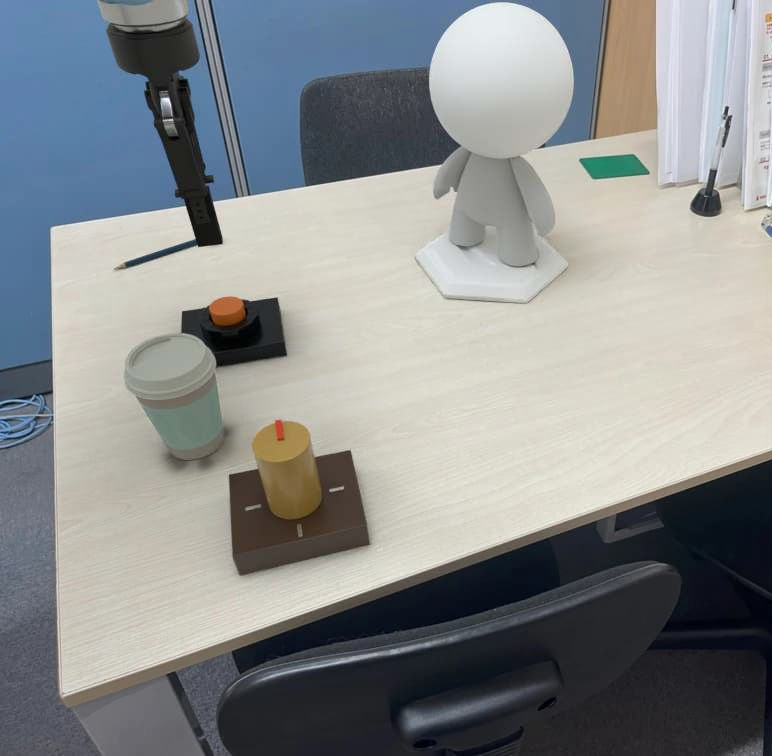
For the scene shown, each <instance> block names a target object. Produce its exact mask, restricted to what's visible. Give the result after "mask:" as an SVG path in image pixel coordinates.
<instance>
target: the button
mask: <svg viewBox="0 0 772 756" xmlns="http://www.w3.org/2000/svg"><path fill="white" fill-rule="evenodd" d="M241 299H242V298H240V297H237V296H232V295H231V296H230V295H229V296H223V297H219V298H217V299H214V300H213V301H212V302H211V303H210V304H209V305H210V306H209V305H208V306H209V311H210V314H211V317H212V321H213V322H214V323H215V324H216V325H220V326H227V325H234V324H236V323H238V322H240V321H242V320H244V319H245V317H246V312H245V308H244V305H243V301H242V300H241Z"/></svg>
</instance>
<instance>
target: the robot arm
mask: <svg viewBox="0 0 772 756" xmlns="http://www.w3.org/2000/svg"><path fill="white" fill-rule="evenodd" d="M96 2H97V5H98V8H99V11H100V14H101V17H102V19H103V20H104V21H106V22H107V23H109V24H108V25H107V28H106V30H105V32H106V36H107V38H108V42H109V45H110V48H111V51H112V54H113V58H114V59H115V64H116V65H117V66H118V68H119V69H120V70H122V71H123V72H124V73H128V74H130V75H141V76H143V77H145V78H147V80H146V81H145V82H144V84H145V88H146V89H144V90H143V93H144V99H145V102H146V106H147V108H148V109H149V110H150V111H151V113H152V115H153V127H154V128H155V129H156V132H157V134H158V137H159V139H160V140H161V144H162V147H163V149H164V153H165V156H166V158H167V161H168V164H169V167H170V170H171V173H172V175H173V178H174V182H175V184H176V187H177V189H176V188H175V189H174V197H175V198H176V199H177V198H180V199H181V200H183V202H184V205H185V208H186V212H187V215H188V218H189V222H190V225H191V228H192V232H193V236H194V239H196V242H197V245H196V246H197V248H203V247H212V246H218V245H223V244H224V239H223V235H222V234H223V233H222V230H221V227H220V226H221V225H220V223H219V218H218V215H217V212H216V208H215V204H214V201H213V196H212V193H211V188H210V185H208V184H215V179H214V174H208V175H207V174H206V168H207V166H206V163H205V161H204V159H203V158H204V157H203V154H202V149H201V146H200V141H199V138H198V137H199V136H198V133H197V129H196V125H195V119H196V117H195V111H194V107H193V104H192V100H191V97H192V96H191V95H192V94H191V92H192V90H191V86H190V82H189V78H187V77H186V78H185V77H184V75H180V72H184V71H188V70H190V69H192V68H193V67H195V66H197V64H198V63H199V61H200V58H201V55H200V50H199V46H198V41H197V38H196V34H195V31H194V26H193V22H192V21H191V20H189V19H188V18H187V16H188V15H189V13H190V7H189V3H188V0H96Z"/></svg>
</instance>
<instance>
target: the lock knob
mask: <svg viewBox="0 0 772 756" xmlns="http://www.w3.org/2000/svg"><path fill="white" fill-rule="evenodd" d="M310 433H311V432H310V431H309V430H308V428H306V427H305V426H304V425H303V424H301V423H299V422H295V421H291V420H285V421H282V419H281V418H280V419H276V420H274V423H271V424H267V426H265V427H263V428H262V429H260V430H259V431H258V432H257V433H256V434H255V435H254V437H253V440H252V443H251V449H252V453H253V456H254V459H255V464H256V467H257V469H258V470H259V474H260V477H261V480H262V484H263V487H264V491H265V494H266V498H267V501H268V504H269V508H270V510H271V511H272V513H273V514H275V515H276V516H278V517H280V518H283V519H299V518H302V517H305V516H307V515H309V514H311V513H312V512H313V511H315V510H316V508H317V507H318V506H319V504H320V503H321V500H322V489H321V485H320V480H319V475H318V470H317V466H316V461H315V457H316V456H315V453H314V447H313V442H312V437H311V434H310Z"/></svg>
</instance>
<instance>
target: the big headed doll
mask: <svg viewBox="0 0 772 756" xmlns="http://www.w3.org/2000/svg"><path fill="white" fill-rule="evenodd" d="M574 83H575V77H574V68H573V62H572V58H571V55H570V52H569V50H568V47H567V45H566V42H565V41H564V39H563V37H562V36H561V34H560V32H559V31H558V30H557V29H556V27H555V26H554V25H553V24H552V23H551V22H550V21H549V20H548V19H547V18H546V17H545V16H543V15H542V14H541V13H539V12H537V11H536V10H534V9H532V8H530V7H527V6H525V5H522V4H519V3H514V2H505V1H503V2H501V1H500V2H490V3H486V4H482V5H479V6H476V7H474V8H472V9H469V10H468V11H466V12H464V13H463V14H462V15H460V16H459V17H458V18H456V20H454V21H453V22H452V23H451V24H450V25H449V26H448V27H447V29H446V30H445V31H444V32H443V34H442V35H441V37H440V39H439V41H437V45H436V47H435V49H434V52H433V55H432V57H431V62H430V67H429V74H428V87H429V97H430V100H431V105H432V107H433V110H434V113H435V116H436V117H437V119H438V121H439V123H440V124H441V126H442V127H443V129H444V131H445V132H446V133H447V134H448V135H449V136H450V137H451V139H453V141H455V142H456V143H457V144H459V145H460V146H459V147H458V148H457V149H455V150H454V151H453V152H452V153H451V154H450V155H449V156H447V158H446V159H445V160H444V161H443V163H442V164H441V165H440V167H439V168H438V170H437V172H436V174H435V176H434V179H433V185H432V194H433V197H434V199H436V200H439V199H441V198H443V197H444V196H446V195H447V194H449V193H450V192H451V188H452V191H453V192H454V193H456V195H455V199H454V204H453V209H452V213H451V219H450V224H449V225H450V226H449V229H447V230H446V231H444V232H443V233H441V234H440V235H438V236H436V238H434V239H433V240H431V241H429V242H428V243H426V244H425V245H424V246H422V247H421V248H420V249H419V250H418V251H416V253H414V259H415V261H416V262H417V263H418V265H419V266H420V267H421V268H422V270H423V271H424V273H425V274H426V275H427V277H428V278H429V279H430V281H431V282H432V284H434V286H435V287H436V289H437V290H438V292H439V293H440V294H441V296H442V297H443V298H444V299H449V300H450V299H451V300H466V301H482V302H483V301H484V302H500V303H514V304H528V303H529V302H530V301H531V300H532V299H533V298H535V297H536V296H537V295H538V294H539V293H540V292H542V291H543V290H544V289H545V288H547V286H548V285H549V284H550V283H552V282H553V281H554V280H555V279H556V278H558V277H559V276H560V275H562V273H563V272H564V271H565V270H566V269H567V268H568V267H569V263H568V262H567V260H566V259H565V258H564V257H563V256H562V255H561V254H560V253H559V252H558V251H557V250H556V249H555V248H554V247H553V246H552V245H551V244H550V243H549V242H548V241H547V240H546V239H545V238H544V236H546V235H548V234H550V233H551V232H552V231H553V230H554V227H555V225H556V211H555V210H556V209H555V207H554V202H553V199H552V198H551V195H550V194H549V191H548V190H547V188H546V186H545V185H544V182H543V181H542V179H541V177H540V176H539V174H538V172H537V171H536V170H535V168H533V166H532V164H530V162H529V161H528V160H526V159H525V157H523V156H524V155H526V154H529V153H531V152H533V151H535V150H537V149H539V148H540V147H541V146H543V145H545V143H547V142H548V141H549V140H550V139H551V138H553V136H554V135H555V134H556V133H557V131H558V130H559V129H560V127H561V126H562V125H563V123H564V121H565V119H566V117H567V115H568V114H569V110H570V107H571V104H572V102H573V101H572V100H573V96H574V90H575V89H574V87H575V84H574ZM533 226H534V227H535V228H536V230H537V231H536V230H535V229H534V227H533Z"/></svg>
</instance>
